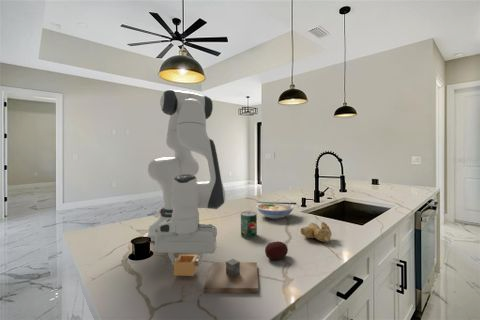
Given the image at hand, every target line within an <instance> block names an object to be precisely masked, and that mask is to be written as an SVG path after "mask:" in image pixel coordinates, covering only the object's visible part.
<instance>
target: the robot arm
mask: <svg viewBox="0 0 480 320" xmlns="http://www.w3.org/2000/svg"><path fill="white" fill-rule="evenodd" d="M159 104H160V109H161V111H162V112H163V114H165V115H168V116H169V120H168V126H167V133H166V140H165V142H166V146H167V147H168V148H169V149H170V150H172V151H173V152H174V156H173V157H172V156H168V157H159V158H155V159H152V160H150V162H149V164H148V167H147V173H148V175H149V177H150V178H151V180H153V181H155V182H156V183H157V184H158V186H160V188H161V191H162V196H163V206H162V208H160V210H159V216H158V217H157V218H156V219H154V220H153V221H152V222H151V223H150V225H149V226H148V232H146V233H145V234H144V235H143V237H150V238H151V241H150V242H154V251H156V253H161V254H163V253H166V254H168V257H169V259H170V260H171V266H174V262H175V261H176V259H177V258H178V257H176V256H175V254H197V255H198V259H196V260H195V263H196V264H195V266H198V267H200V266H201V263H202V262H201V261H202V258H203V256H204V255H205V254H214V253H215V252H216V251H217V247H218V246H217V244H218V243H217V235H218V230H217V227H216V226H214V225H213V224H209V223H208V224H204V223H202V224H201V223H200V211H199V209H212V210H218V209H220V207H221V206H223V205H224V204H225V201H226V190H225V186H224V184H223V181H222V176H221V171H220V165H219V157H218V153H217V149H216V145H215V141H214V140H213V139H211V138H210V137H209V136H208V133H207V120H208V119H209V118H210V117H211V116H212V114H213V110H214V109H213V108H214V107H213V101H212V99H211V97H209V96H206V95H203V94H202V95H201V94H198V93H195V92H190V91H184V90H183V91H182V90H174V89H166V90H165V91H163V92H162V94H161V96H160V101H159ZM192 152H194V153H196V154H199V155H202V157H204V158H205V159H206V160H207V166H208V171H209V177H210V179H209V180H208V181H198V180H197V177H196V175H197V174H198V173H199V170H200V169H199V168H200V167H199V163H198V160H197V159H196V158H195V157H194V156H193V154H192Z"/></svg>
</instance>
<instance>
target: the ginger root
mask: <svg viewBox="0 0 480 320" xmlns="http://www.w3.org/2000/svg"><path fill="white" fill-rule="evenodd" d="M320 223H321V224H320V226H318V224H317V223H314V222H310V224H308V226H303V227H301V228H300V231H299V232H300V234H301V235H302V236H304V237H305V238H307V239H316V240H318V241H320V242H323V243H328V242H329V241H330V239H331V237H332V235H333V234H332V230H331V229H330V227H329V225H328V224H327V223H326V222H324V221H321V222H320Z"/></svg>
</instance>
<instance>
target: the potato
mask: <svg viewBox="0 0 480 320" xmlns="http://www.w3.org/2000/svg"><path fill="white" fill-rule="evenodd" d="M264 252H265V256H266V258H268V259H270V260H274V261H277V260H281V259H283V258H285V256H286V255H287V254H288V252H289V248H288V246H287V245H286V244H285V242H284V241H283V242H282V241H278V240H277V241H272V242H269V243H268V244H267V245H266V246H265V249H264Z"/></svg>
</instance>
